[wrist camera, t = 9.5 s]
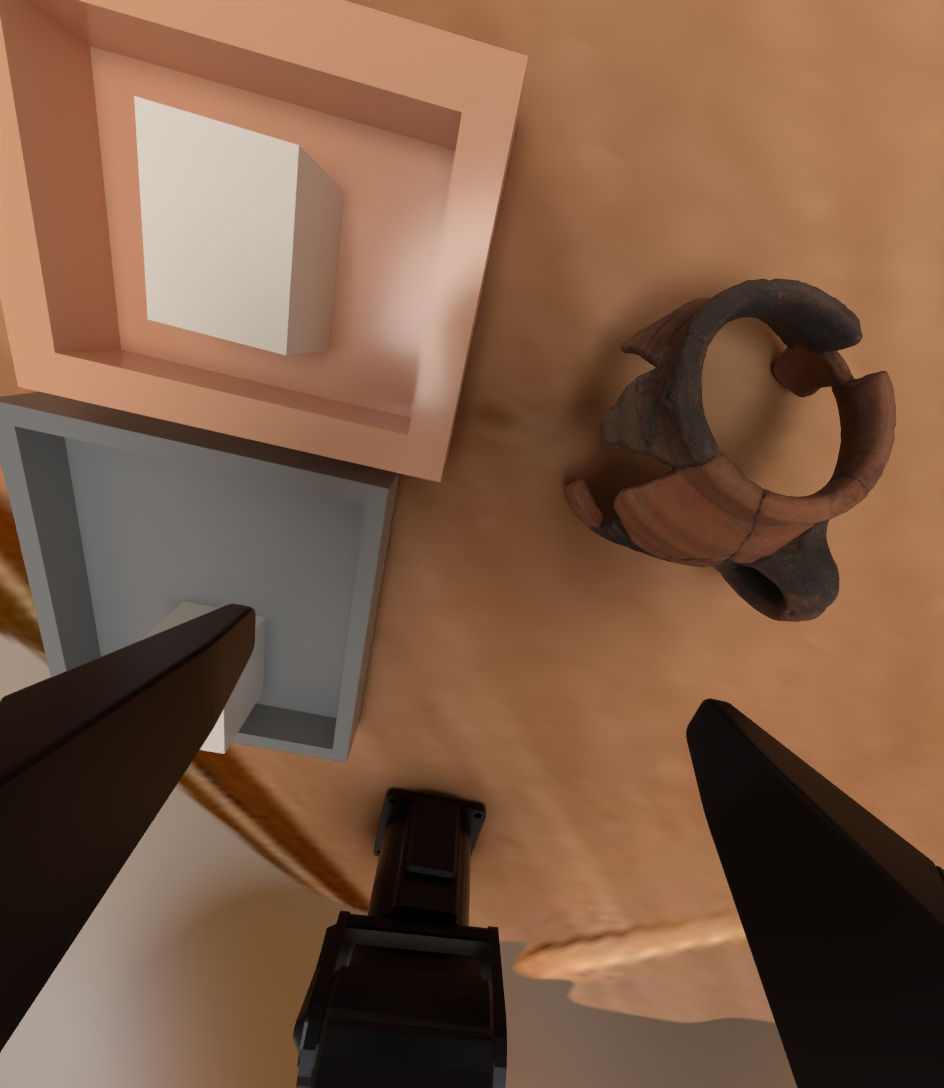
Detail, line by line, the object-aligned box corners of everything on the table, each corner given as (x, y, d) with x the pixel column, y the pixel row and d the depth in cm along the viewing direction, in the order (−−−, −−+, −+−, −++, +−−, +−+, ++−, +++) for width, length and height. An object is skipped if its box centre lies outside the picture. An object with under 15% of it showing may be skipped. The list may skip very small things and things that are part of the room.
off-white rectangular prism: (263, 691, 24) (224, 753, 21) (188, 677, 24) (135, 738, 20) (265, 617, 22) (223, 672, 19) (183, 600, 22) (124, 653, 18)
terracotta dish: (447, 458, 19) (440, 482, 16) (99, 377, 18) (18, 386, 15) (518, 117, 14) (528, 56, 11) (50, -20, 13) (-86, -131, 10)
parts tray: (358, 723, 26) (346, 762, 24) (99, 676, 25) (59, 711, 22) (400, 470, 19) (388, 488, 17) (50, 390, 18) (-14, 398, 16)
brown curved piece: (503, 450, 20) (580, 366, 11) (651, 331, 21) (812, 182, 13) (669, 657, 20) (851, 716, 12) (799, 527, 22) (1038, 502, 14)
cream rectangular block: (328, 350, 17) (286, 355, 13) (221, 322, 17) (147, 319, 13) (344, 191, 15) (299, 144, 11) (221, 155, 14) (134, 96, 11)
